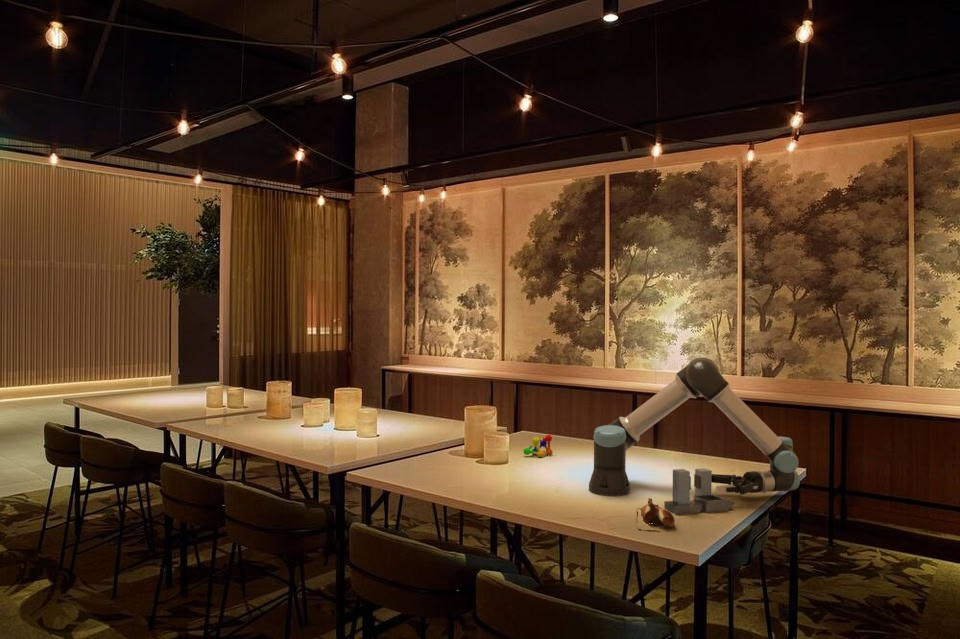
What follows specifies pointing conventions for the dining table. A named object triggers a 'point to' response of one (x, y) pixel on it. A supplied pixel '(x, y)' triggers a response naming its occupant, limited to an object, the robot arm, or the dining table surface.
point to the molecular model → (542, 443)
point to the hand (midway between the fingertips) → (705, 484)
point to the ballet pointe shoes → (656, 516)
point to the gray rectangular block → (702, 481)
